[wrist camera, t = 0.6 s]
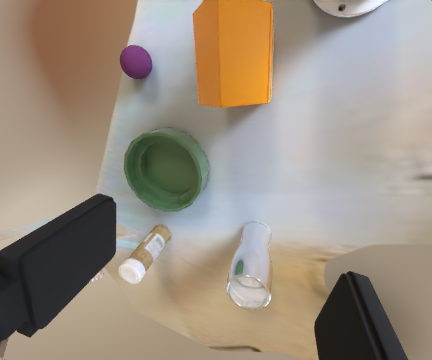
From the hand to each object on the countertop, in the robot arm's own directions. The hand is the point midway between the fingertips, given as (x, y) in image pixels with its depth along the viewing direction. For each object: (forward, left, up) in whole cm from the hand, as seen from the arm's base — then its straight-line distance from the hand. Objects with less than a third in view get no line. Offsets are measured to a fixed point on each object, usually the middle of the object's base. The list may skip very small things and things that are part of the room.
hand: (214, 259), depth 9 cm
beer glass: (+21, +5, -33) cm, 39 cm away
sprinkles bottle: (+29, -15, -33) cm, 46 cm away
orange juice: (-8, -5, -33) cm, 35 cm away
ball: (-5, -23, -33) cm, 41 cm away
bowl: (+12, -15, -33) cm, 38 cm away
